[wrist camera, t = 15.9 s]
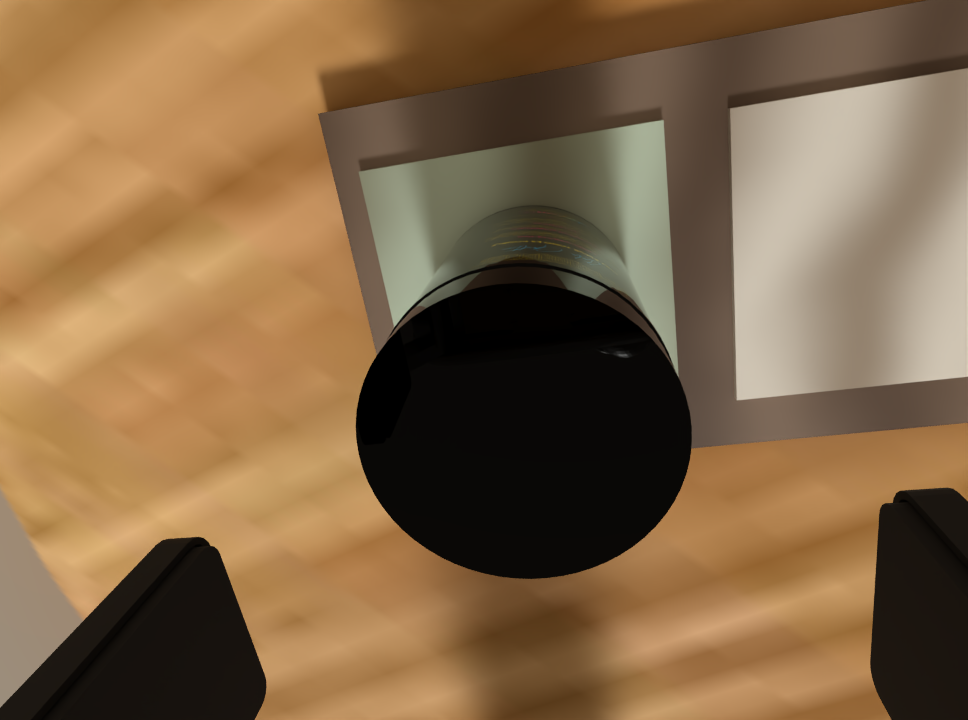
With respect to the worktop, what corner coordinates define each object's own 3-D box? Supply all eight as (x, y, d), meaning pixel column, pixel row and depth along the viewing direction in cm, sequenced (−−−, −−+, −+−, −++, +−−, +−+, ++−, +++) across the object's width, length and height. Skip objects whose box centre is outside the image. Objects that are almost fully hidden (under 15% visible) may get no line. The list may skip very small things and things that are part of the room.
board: (1113, -34, 18) (1152, -43, 17) (1039, 401, 23) (1066, 417, 22) (327, 113, 22) (315, 113, 21) (410, 461, 27) (404, 478, 26)
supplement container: (420, 216, 21) (316, 308, 12) (621, 184, 20) (685, 256, 11) (456, 394, 24) (394, 590, 14) (637, 373, 23) (702, 569, 13)
